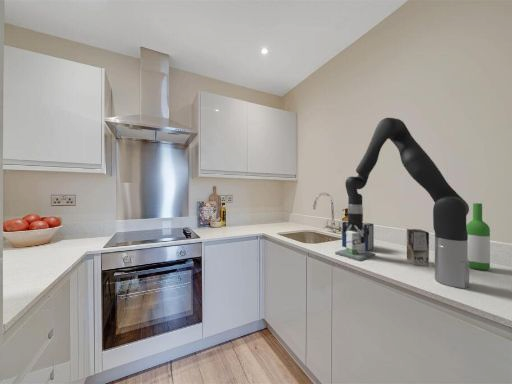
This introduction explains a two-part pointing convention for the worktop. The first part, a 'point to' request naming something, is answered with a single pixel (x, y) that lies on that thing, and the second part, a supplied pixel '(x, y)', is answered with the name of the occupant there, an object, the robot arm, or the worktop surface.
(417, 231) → the coffee box
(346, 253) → the plate
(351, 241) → the ink box
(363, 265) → the worktop surface
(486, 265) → the wine bottle
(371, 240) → the protein box
